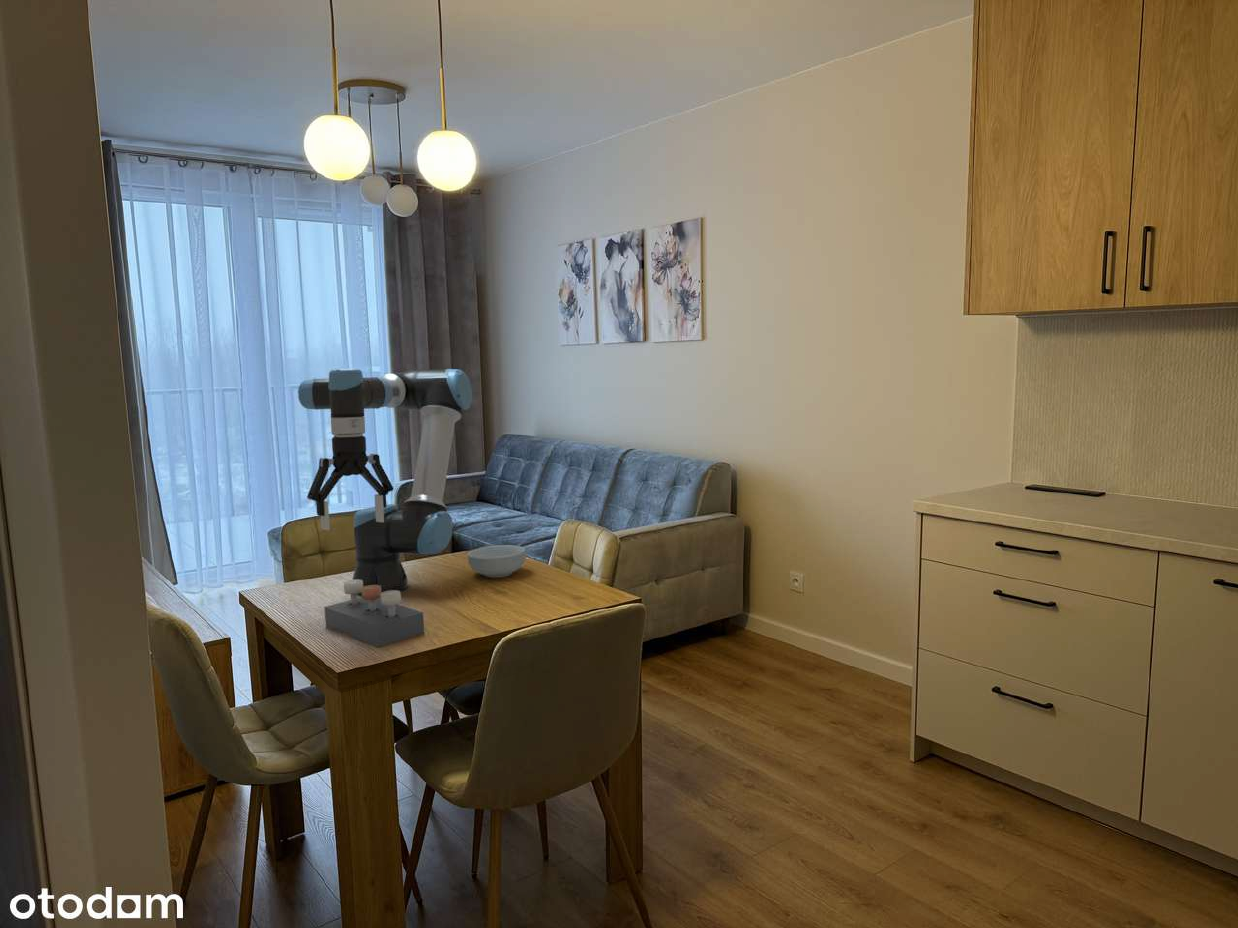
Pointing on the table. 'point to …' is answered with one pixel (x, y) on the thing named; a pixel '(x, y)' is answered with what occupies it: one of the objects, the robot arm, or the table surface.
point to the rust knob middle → (371, 595)
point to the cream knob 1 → (353, 589)
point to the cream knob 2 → (391, 601)
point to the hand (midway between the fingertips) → (353, 525)
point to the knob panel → (374, 622)
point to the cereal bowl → (497, 560)
